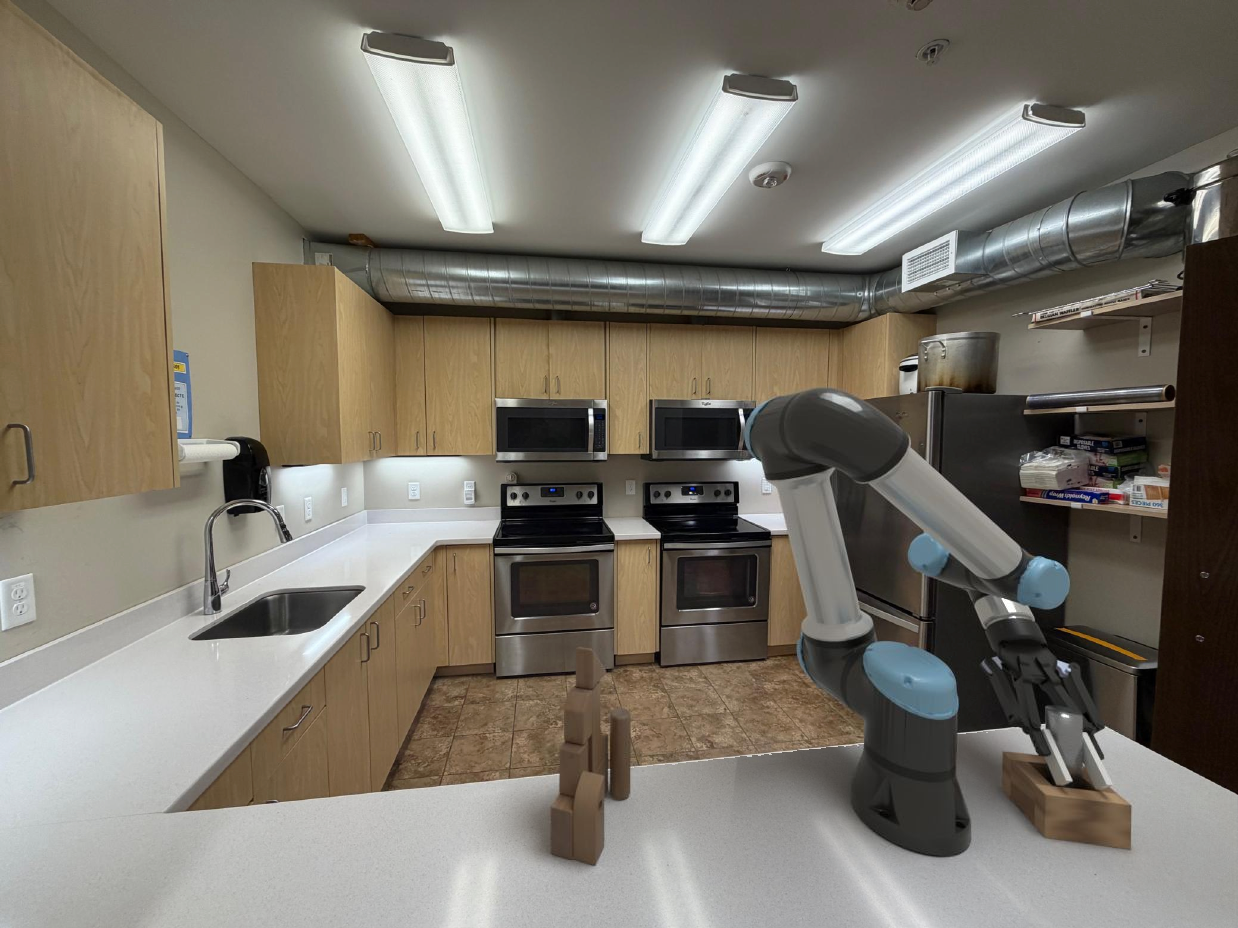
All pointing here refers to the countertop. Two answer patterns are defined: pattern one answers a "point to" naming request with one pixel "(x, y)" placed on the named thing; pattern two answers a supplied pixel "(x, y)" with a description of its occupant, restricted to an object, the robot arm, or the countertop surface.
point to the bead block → (1066, 804)
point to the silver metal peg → (1066, 742)
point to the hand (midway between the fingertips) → (1084, 784)
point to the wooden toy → (588, 765)
